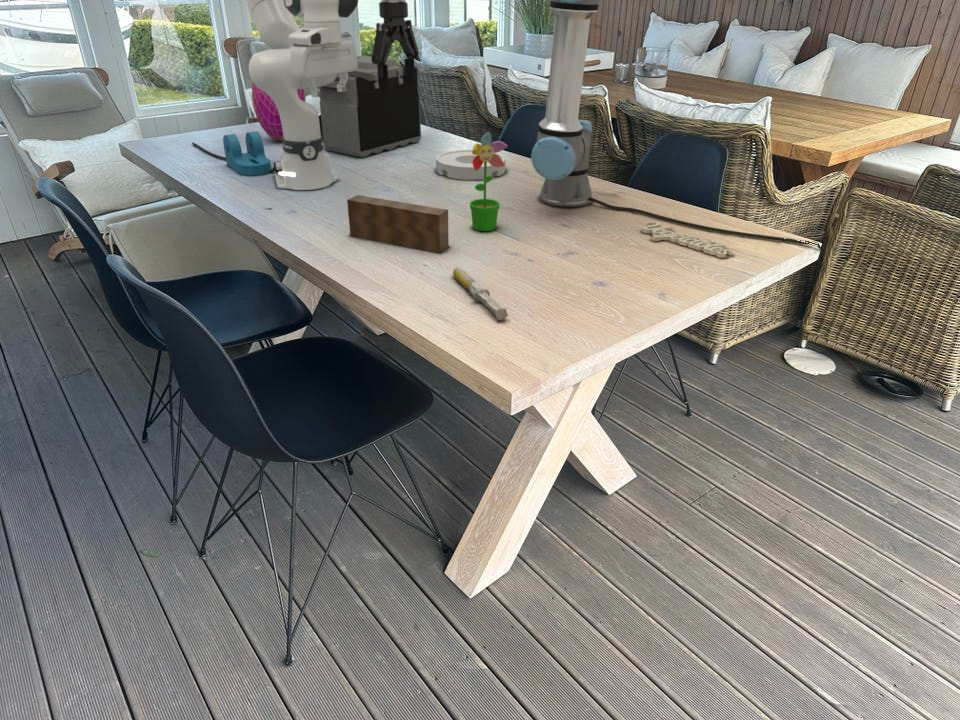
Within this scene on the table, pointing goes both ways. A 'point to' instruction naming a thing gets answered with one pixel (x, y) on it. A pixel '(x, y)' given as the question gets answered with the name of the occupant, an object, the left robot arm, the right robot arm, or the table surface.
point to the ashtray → (465, 165)
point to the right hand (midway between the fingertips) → (397, 87)
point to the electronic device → (370, 111)
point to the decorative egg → (269, 112)
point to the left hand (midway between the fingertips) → (329, 94)
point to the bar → (398, 223)
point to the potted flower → (485, 208)
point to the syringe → (479, 293)
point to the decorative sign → (685, 240)
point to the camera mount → (246, 154)
